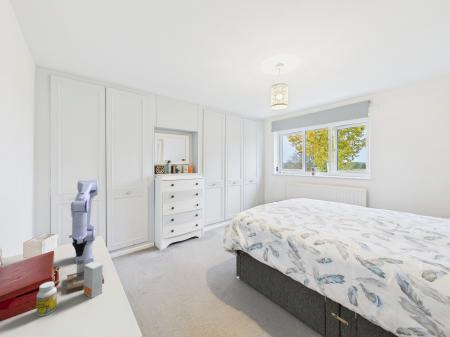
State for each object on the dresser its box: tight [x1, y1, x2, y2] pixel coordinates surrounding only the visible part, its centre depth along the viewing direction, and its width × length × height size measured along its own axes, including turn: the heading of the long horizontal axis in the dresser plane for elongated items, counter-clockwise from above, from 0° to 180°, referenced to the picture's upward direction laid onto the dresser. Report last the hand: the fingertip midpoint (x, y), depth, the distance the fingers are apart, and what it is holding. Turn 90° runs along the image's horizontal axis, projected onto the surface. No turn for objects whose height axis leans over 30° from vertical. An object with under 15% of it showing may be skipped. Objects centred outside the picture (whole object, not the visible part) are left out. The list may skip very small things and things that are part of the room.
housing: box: [76, 258, 95, 281], centre depth 90 cm, size 6×4×7 cm, turn 129°
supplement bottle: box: [36, 281, 58, 317], centre depth 71 cm, size 5×5×10 cm
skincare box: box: [83, 260, 104, 299], centre depth 82 cm, size 6×4×12 cm
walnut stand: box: [66, 272, 105, 295], centre depth 90 cm, size 13×13×2 cm
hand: (79, 253), depth 96 cm, fingers open, 7 cm apart
